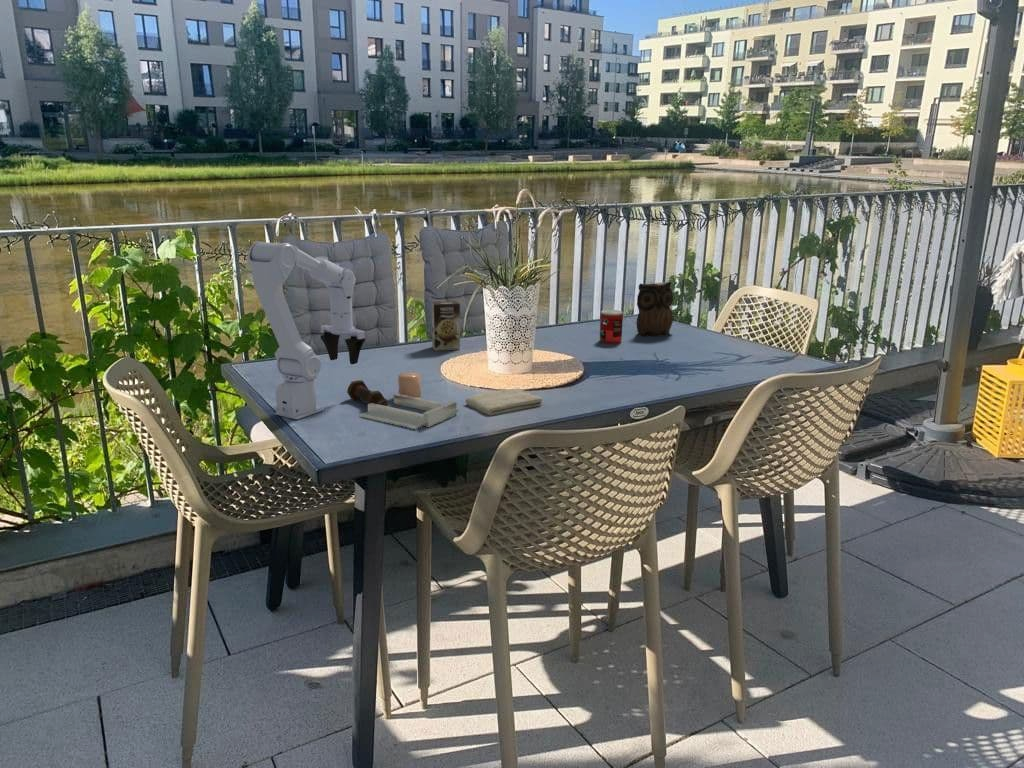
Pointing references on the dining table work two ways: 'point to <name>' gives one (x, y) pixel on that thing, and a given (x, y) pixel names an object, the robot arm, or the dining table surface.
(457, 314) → the cookie box
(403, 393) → the tan rounded block
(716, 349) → the dining table surface
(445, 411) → the bracket
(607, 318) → the canned food
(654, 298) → the owl
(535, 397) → the washcloth
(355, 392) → the bolt
